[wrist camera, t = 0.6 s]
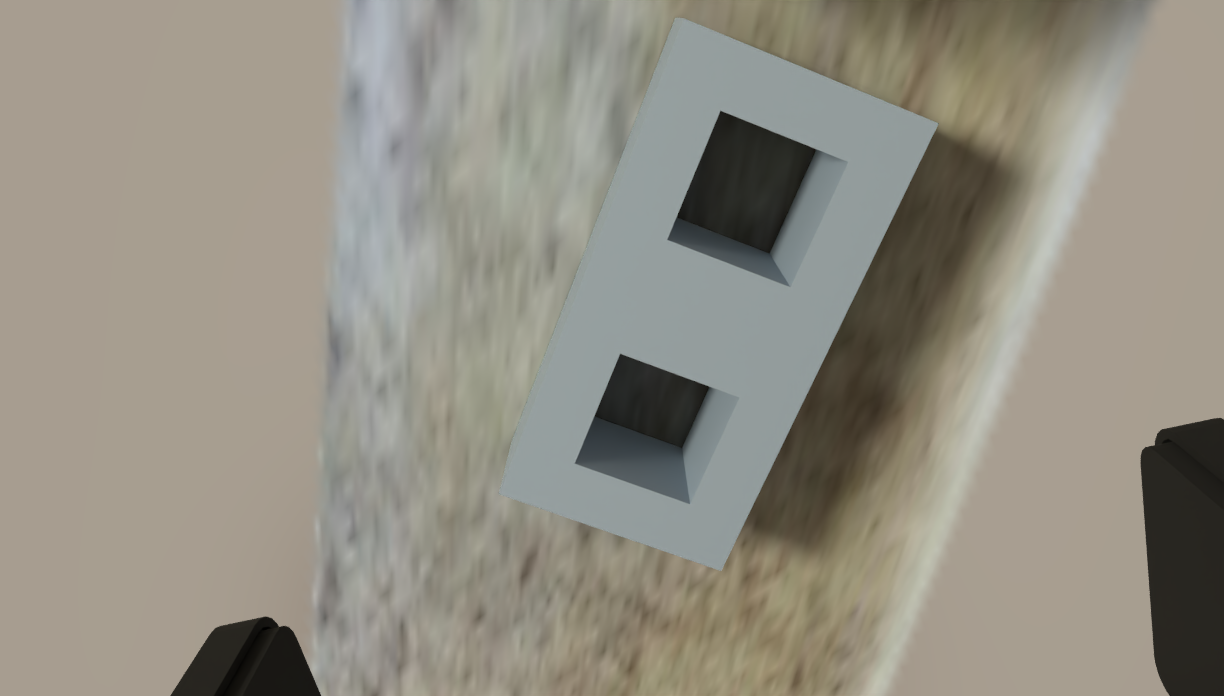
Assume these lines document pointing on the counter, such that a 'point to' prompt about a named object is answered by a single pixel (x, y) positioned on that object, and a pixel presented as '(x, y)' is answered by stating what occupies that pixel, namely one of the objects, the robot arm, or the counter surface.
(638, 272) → the hole block
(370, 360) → the counter surface
